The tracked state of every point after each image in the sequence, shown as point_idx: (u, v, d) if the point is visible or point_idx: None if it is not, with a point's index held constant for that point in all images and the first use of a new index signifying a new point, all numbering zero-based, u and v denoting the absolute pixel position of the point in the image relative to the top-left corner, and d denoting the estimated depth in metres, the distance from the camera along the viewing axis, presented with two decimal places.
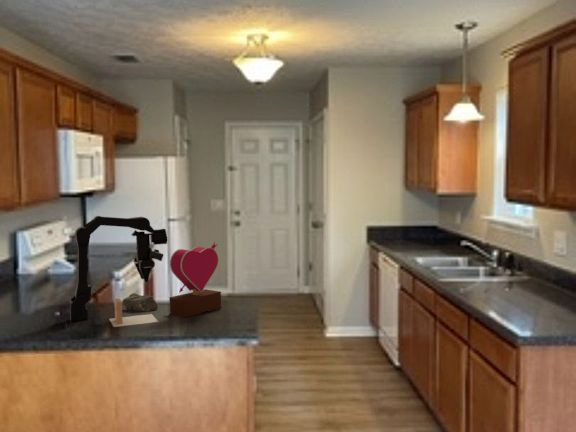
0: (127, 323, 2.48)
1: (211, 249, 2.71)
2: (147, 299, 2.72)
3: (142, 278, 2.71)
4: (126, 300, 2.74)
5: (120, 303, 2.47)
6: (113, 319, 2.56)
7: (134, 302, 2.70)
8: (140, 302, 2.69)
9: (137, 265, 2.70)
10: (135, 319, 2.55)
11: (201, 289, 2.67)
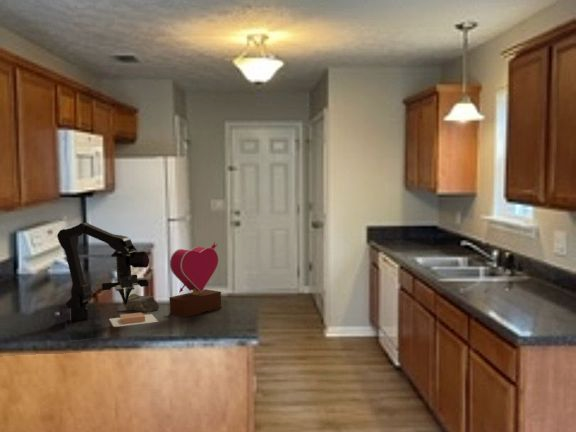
0: (127, 323, 2.48)
1: (211, 249, 2.71)
2: (148, 299, 2.71)
3: (125, 303, 2.52)
4: None
5: (143, 320, 2.52)
6: (113, 319, 2.56)
7: (135, 303, 2.69)
8: (141, 302, 2.68)
9: (125, 288, 2.54)
10: None
11: (201, 289, 2.67)
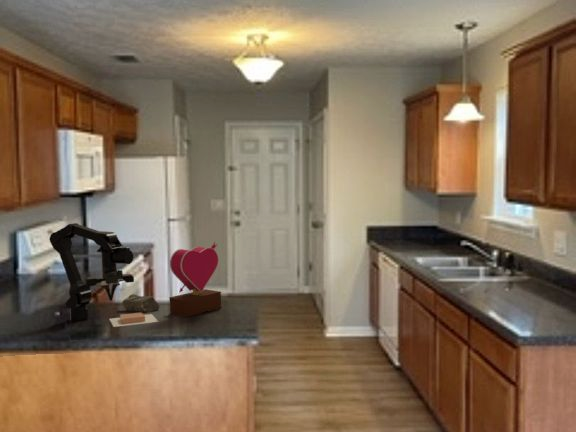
0: (127, 323, 2.48)
1: (211, 249, 2.71)
2: (148, 300, 2.71)
3: None
4: (126, 301, 2.71)
5: (143, 320, 2.52)
6: (113, 319, 2.56)
7: (135, 303, 2.69)
8: (142, 303, 2.68)
9: (111, 284, 2.51)
10: None
11: (201, 289, 2.67)
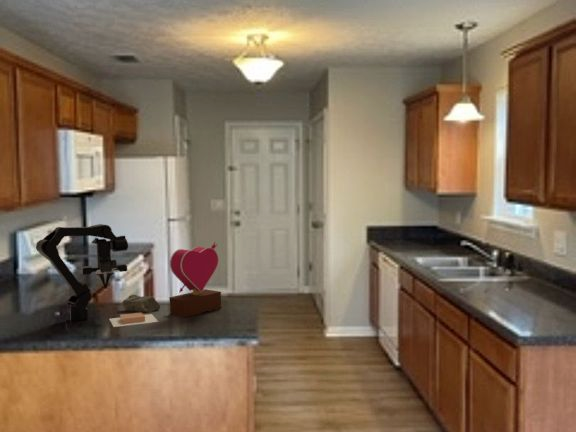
0: (127, 323, 2.48)
1: (211, 249, 2.71)
2: (149, 300, 2.70)
3: None
4: (127, 301, 2.71)
5: (143, 320, 2.52)
6: (113, 319, 2.56)
7: (136, 303, 2.68)
8: (143, 303, 2.68)
9: None
10: None
11: (201, 289, 2.67)
